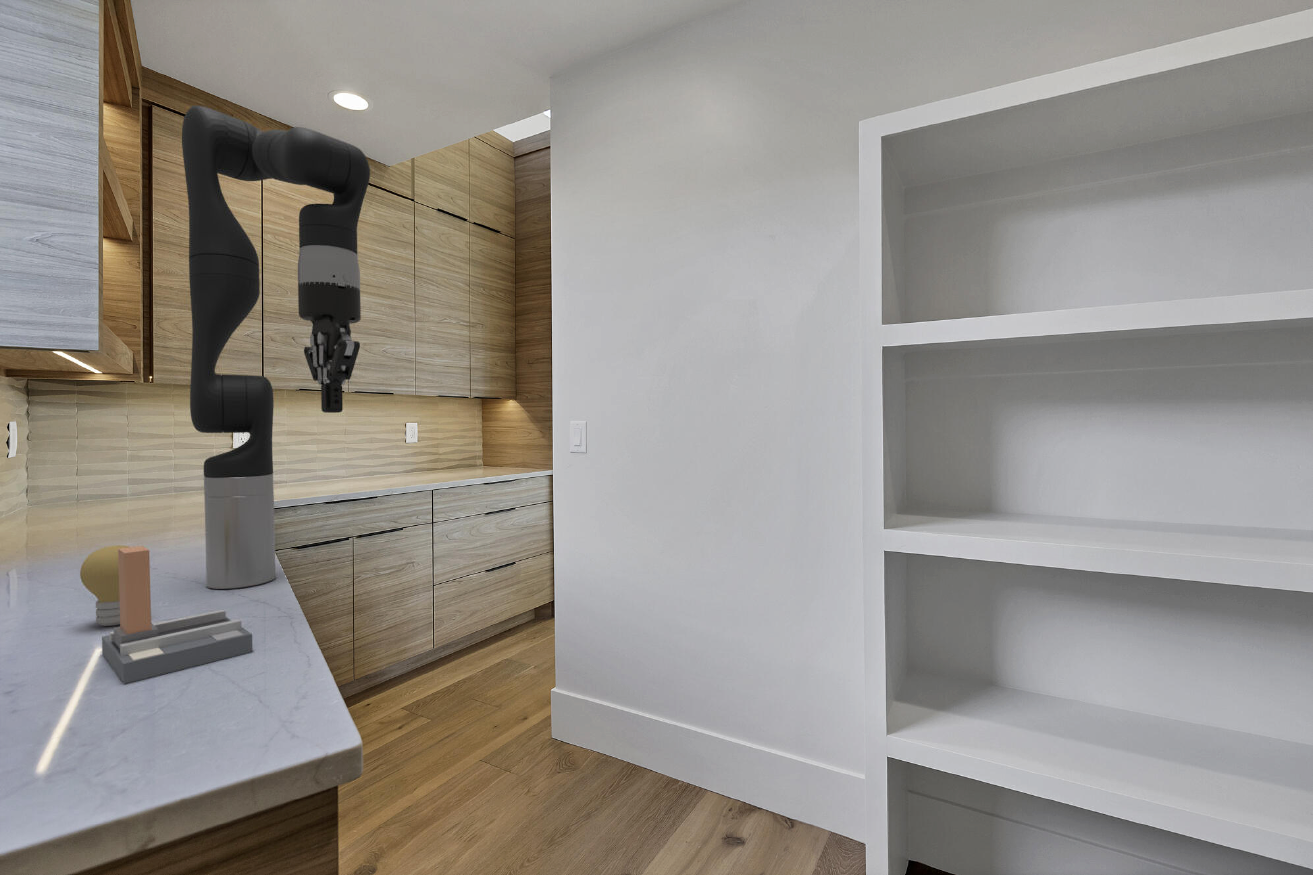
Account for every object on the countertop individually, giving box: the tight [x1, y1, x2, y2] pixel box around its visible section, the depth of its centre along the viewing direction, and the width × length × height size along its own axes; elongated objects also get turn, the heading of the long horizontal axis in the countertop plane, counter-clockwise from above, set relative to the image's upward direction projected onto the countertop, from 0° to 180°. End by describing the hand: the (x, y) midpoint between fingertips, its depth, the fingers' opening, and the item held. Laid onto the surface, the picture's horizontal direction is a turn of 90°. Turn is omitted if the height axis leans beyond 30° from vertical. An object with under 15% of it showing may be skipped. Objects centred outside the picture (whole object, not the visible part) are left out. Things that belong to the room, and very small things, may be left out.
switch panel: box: [101, 609, 253, 685], centre depth 68 cm, size 12×11×3 cm
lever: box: [113, 545, 158, 648], centre depth 66 cm, size 4×3×10 cm
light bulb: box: [79, 545, 130, 627], centre depth 79 cm, size 6×6×10 cm
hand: (332, 412), depth 84 cm, fingers closed
